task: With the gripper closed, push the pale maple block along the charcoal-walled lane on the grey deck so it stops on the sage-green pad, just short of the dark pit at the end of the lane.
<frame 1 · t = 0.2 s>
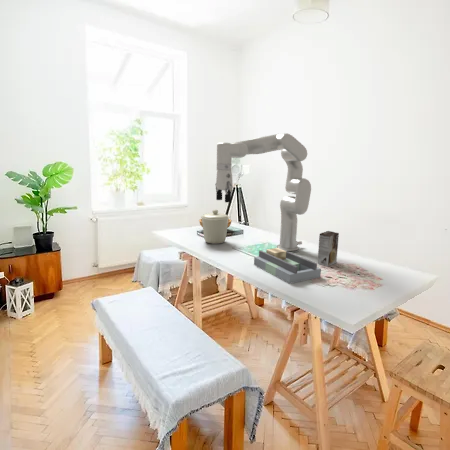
hand: (223, 201, 167), 31 cm above the table, tool pointing down, fingers open, 9 cm apart
coffee box: (326, 263, 168), on the table
lane deck: (285, 270, 155), on the table
maple block: (275, 258, 161), point 4 cm above the table, touching lane deck
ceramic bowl: (215, 230, 240), on the table
canister: (214, 242, 207), on the table
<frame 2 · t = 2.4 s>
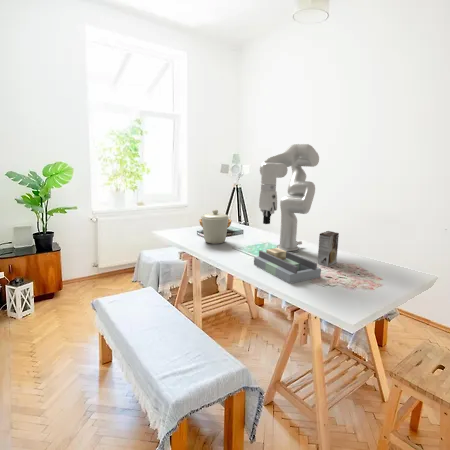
hand: (266, 223, 166), 20 cm above the table, tool pointing down, fingers closed
nothing on the table moved.
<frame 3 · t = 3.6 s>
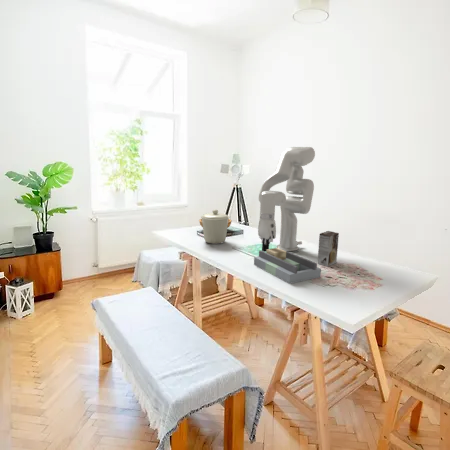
hand: (265, 250, 169), 5 cm above the table, tool pointing down, fingers closed
nothing on the table moved.
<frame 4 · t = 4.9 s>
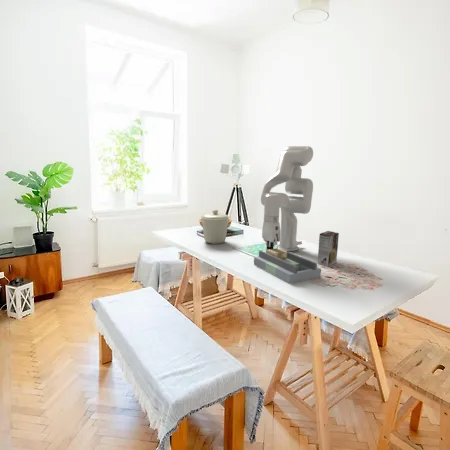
hand: (269, 253, 166), 5 cm above the table, tool pointing down, fingers closed
maple block: (276, 258, 161), point 4 cm above the table, touching gripper, lane deck
everything else where it was.
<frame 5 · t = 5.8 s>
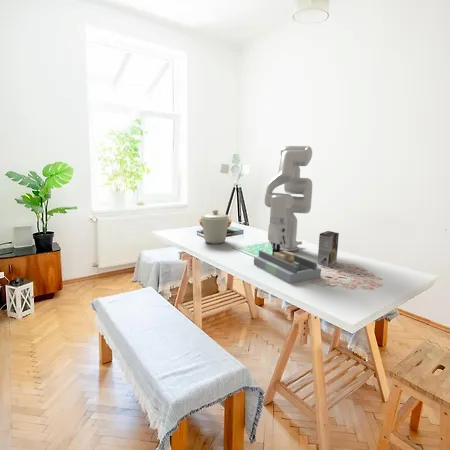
hand: (275, 256, 161), 5 cm above the table, tool pointing down, fingers closed
maple block: (283, 261, 157), point 4 cm above the table, touching gripper
everything else where it was.
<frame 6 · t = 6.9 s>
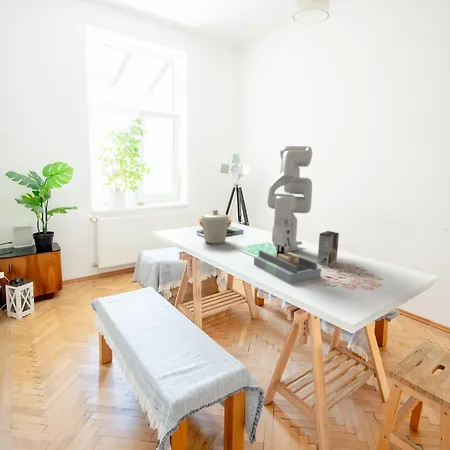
hand: (280, 258, 158), 5 cm above the table, tool pointing down, fingers closed
maple block: (287, 263, 154), point 4 cm above the table, touching gripper, lane deck
everything else where it was.
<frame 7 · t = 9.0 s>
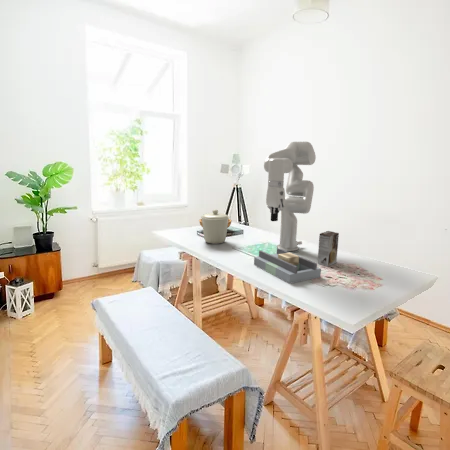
hand: (274, 220, 162), 22 cm above the table, tool pointing down, fingers closed
maple block: (287, 263, 154), point 4 cm above the table, touching lane deck
everything else where it was.
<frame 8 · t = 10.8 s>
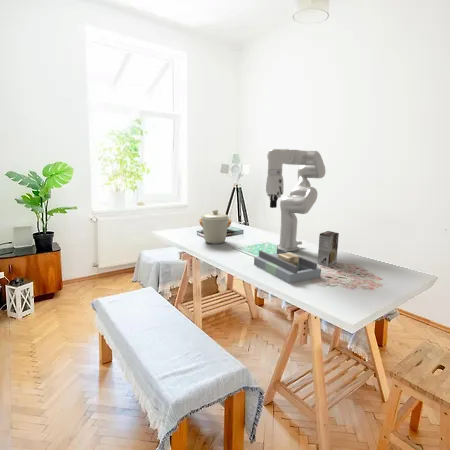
hand: (273, 207, 174), 27 cm above the table, tool pointing down, fingers closed
nothing on the table moved.
at the end: maple block 1.2 cm off-centre on the lane deck, point 4.0 cm above the lane deck's base; maple block tilted 0°; the gripper is holding nothing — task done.
